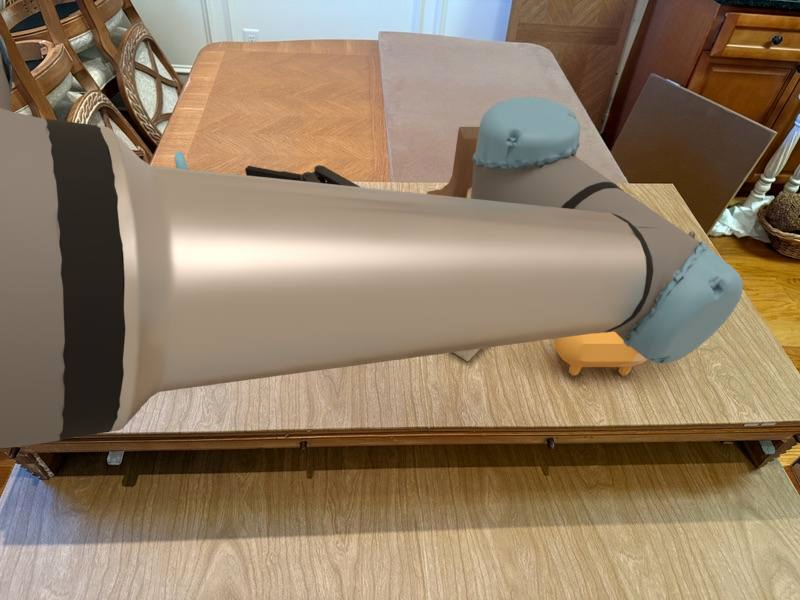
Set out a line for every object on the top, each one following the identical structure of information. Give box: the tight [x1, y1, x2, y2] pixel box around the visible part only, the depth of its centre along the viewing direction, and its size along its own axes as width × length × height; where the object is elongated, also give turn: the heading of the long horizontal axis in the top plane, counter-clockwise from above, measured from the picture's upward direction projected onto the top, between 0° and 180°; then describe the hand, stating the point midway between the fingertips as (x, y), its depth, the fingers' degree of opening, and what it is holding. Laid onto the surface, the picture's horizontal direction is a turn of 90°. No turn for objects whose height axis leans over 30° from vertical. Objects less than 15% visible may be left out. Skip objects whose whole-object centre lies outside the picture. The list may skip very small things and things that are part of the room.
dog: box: [553, 332, 649, 377], centre depth 77 cm, size 8×20×13 cm, turn 93°
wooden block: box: [426, 126, 480, 198], centre depth 101 cm, size 9×4×18 cm, turn 96°
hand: (216, 209), depth 58 cm, fingers open, 13 cm apart
